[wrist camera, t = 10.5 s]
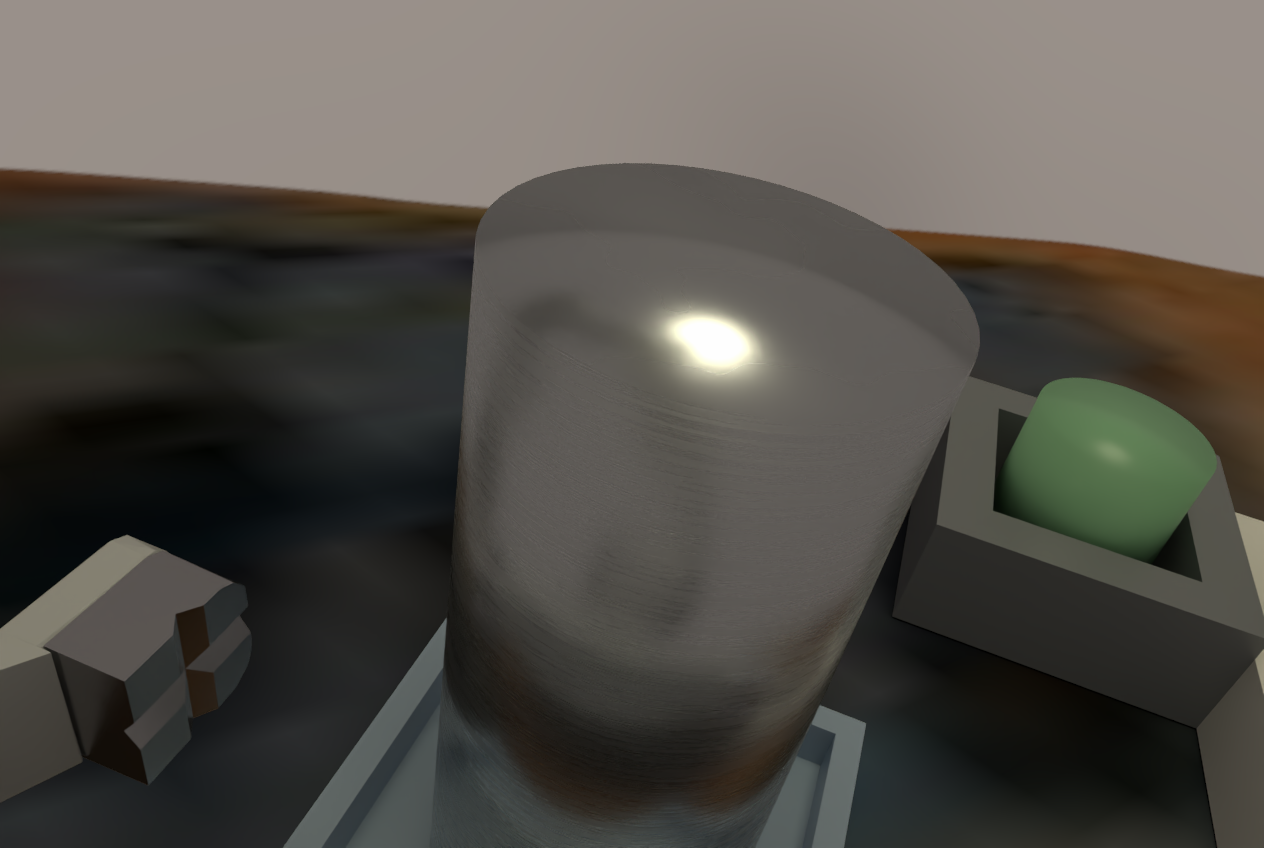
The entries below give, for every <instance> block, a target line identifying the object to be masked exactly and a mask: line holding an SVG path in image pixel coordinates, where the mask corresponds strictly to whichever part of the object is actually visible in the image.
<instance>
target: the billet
mask: <svg viewBox="0 0 1264 848" xmlns="http://www.w3.org/2000/svg"><path fill="white" fill-rule="evenodd" d="M979 346H980V336H979V327H978V324H977V320H976V317H975V314H974V312H973V310H972V308H971V306H970V304H969V302H968V300H967V299H966V297H965V296H964V294H963V293H962V292H961V290H960V289H959V288H958V286H957V285H956V284H955V283H954V281H953V280H952V279H951V278H950V277H949V276H948V275H947V274H946V273H945V272H944V271H943V270H942V269H941V268H940V267H939V266H938V265H936V264H935V263H934V262H933V261H932V260H930V259H929V258H928V257H927V256H926V255H924V254H923V253H922V252H921V251H919V250H918V249H916V248H915V247H913V246H912V245H910V244H909V243H908V242H906V241H905V240H903V239H902V238H900V237H898V236H897V235H895V234H893V233H892V232H890V231H888V230H887V229H885V228H883V227H882V226H880V225H878V224H876V223H874V222H872V221H870V220H868V219H866V218H864V217H862V216H860V215H858V214H856V213H854V212H851V211H849V210H847V209H845V208H842V207H840V206H838V205H835V204H833V203H831V202H828V201H825V200H823V199H820V198H817V197H815V196H812V195H809V194H806V193H803V192H800V191H797V190H794V189H791V188H787V187H785V186H781V185H777V184H774V183H770V182H766V181H762V180H759V179H755V178H750V177H746V176H741V175H736V174H732V173H726V172H721V171H715V170H709V169H703V168H695V167H686V166H677V165H664V164H636V163H635V164H634V163H633V164H632V163H631V164H630V163H623V164H605V165H594V166H586V167H577V168H572V169H567V170H562V171H558V172H554V173H550V174H547V175H544V176H541V177H537V178H534V179H532V180H530V181H528V182H525V183H523V184H521V185H518V186H516V187H515V188H513V189H512V190H510V191H508V192H507V193H505V194H504V195H502V196H501V197H500V198H499V199H498V200H496V201H495V202H494V203H493V204H492V205H491V206H490V207H489V208H488V210H487V211H486V213H485V214H484V216H483V217H482V219H481V221H480V224H479V227H478V230H477V233H476V241H475V254H474V267H473V280H472V293H471V306H470V320H469V333H468V346H467V359H466V372H465V386H464V399H463V412H462V425H461V438H460V451H459V465H458V478H457V491H456V504H455V517H454V530H453V544H452V557H451V570H450V583H449V596H448V609H447V623H446V636H445V649H444V662H443V675H442V689H441V702H440V715H439V728H438V741H437V754H436V768H435V781H434V794H433V807H432V820H431V833H430V847H429V848H755V847H756V845H757V843H758V840H759V838H760V836H761V834H762V832H763V829H764V827H765V825H766V823H767V821H768V818H769V816H770V814H771V812H772V810H773V807H774V805H775V803H776V801H777V799H778V796H779V794H780V792H781V790H782V787H783V785H784V783H785V781H786V779H787V776H788V774H789V772H790V770H791V768H792V765H793V763H794V761H795V759H796V757H797V754H798V752H799V750H800V748H801V746H802V743H803V741H804V739H805V737H806V734H807V732H808V730H809V728H810V726H811V723H812V721H813V719H814V717H815V715H816V712H817V710H818V708H819V706H820V704H821V701H822V699H823V697H824V695H825V693H826V690H827V688H828V686H829V684H830V681H831V679H832V677H833V675H834V673H835V670H836V668H837V666H838V664H839V662H840V659H841V657H842V655H843V653H844V651H845V648H846V646H847V644H848V642H849V640H850V637H851V635H852V633H853V631H854V629H855V626H856V624H857V622H858V620H859V617H860V615H861V613H862V611H863V609H864V606H865V604H866V602H867V600H868V598H869V595H870V593H871V591H872V589H873V587H874V584H875V582H876V580H877V578H878V576H879V573H880V571H881V569H882V567H883V564H884V562H885V560H886V558H887V556H888V553H889V551H890V549H891V547H892V545H893V542H894V540H895V538H896V536H897V534H898V531H899V529H900V527H901V525H902V523H903V520H904V518H905V516H906V514H907V511H908V509H909V507H910V505H911V503H912V500H913V498H914V496H915V494H916V492H917V489H918V487H919V485H920V483H921V481H922V478H923V476H924V474H925V472H926V470H927V467H928V465H929V463H930V461H931V458H932V456H933V454H934V452H935V450H936V447H937V445H938V443H939V441H940V439H941V436H942V434H943V432H944V430H945V428H946V425H947V423H948V421H949V419H950V417H951V414H952V412H953V410H954V408H955V406H956V403H957V401H958V399H959V397H960V394H961V392H962V390H963V388H964V386H965V383H966V381H967V379H968V377H969V375H970V372H971V370H972V368H973V366H974V364H975V361H976V358H977V354H978V350H979Z"/></svg>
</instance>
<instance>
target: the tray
mask: <svg viewBox="0 0 1264 848" xmlns="http://www.w3.org/2000/svg"><path fill="white" fill-rule="evenodd" d="M446 623H447V618H446V619H445V621H444V622H443V624H442V625H441V626H440V628H439V629H438V631H437V632H436V633H435V635H434V636H433V638H432V639H431V640H430V642H429V643H428V645H427V646H426V647H425V649H424V650H423V652H422V653H421V654H420V656H419V657H418V659H417V660H416V661H415V663H414V664H413V666H412V667H411V668H410V670H409V671H408V673H407V674H406V676H405V677H404V678H403V680H402V681H401V683H400V684H399V685H398V687H397V688H396V690H395V691H394V692H393V694H392V695H391V697H390V698H389V699H388V701H387V702H386V704H385V705H384V706H383V708H382V709H381V711H380V712H379V713H378V715H377V716H376V718H375V719H374V720H373V722H372V723H371V725H370V726H369V727H368V729H367V730H366V732H365V733H364V734H363V736H362V737H361V739H360V740H359V741H358V743H357V744H356V746H355V747H354V749H353V750H352V751H351V753H350V754H349V756H348V757H347V758H346V760H345V761H344V763H343V764H342V765H341V767H340V768H339V770H338V771H337V772H336V774H335V775H334V777H333V778H332V779H331V781H330V782H329V784H328V785H327V786H326V788H325V789H324V791H323V792H322V793H321V795H320V796H319V798H318V799H317V800H316V802H315V803H314V805H313V806H312V807H311V809H310V810H309V812H308V813H307V814H306V816H305V817H304V819H303V820H302V822H301V823H300V824H299V826H298V827H297V829H296V830H295V831H294V833H293V834H292V836H291V837H290V838H289V840H288V841H287V843H286V844H285V845H284V847H283V848H429V847H430V833H431V820H432V807H433V794H434V781H435V768H436V754H437V741H438V728H439V715H440V702H441V689H442V675H443V662H444V649H445V636H446ZM865 727H866V723H864V722H861V721H859V720H856V719H854V718H851V717H849V716H846V715H843V714H841V713H838V712H836V711H833V710H831V709H828V708H826V707H823V706H819V708H818V710H817V712H816V715H815V717H814V719H813V721H812V723H811V726H810V728H809V730H808V732H807V734H806V737H805V739H804V741H803V743H802V746H801V748H800V750H799V752H798V754H797V757H796V759H795V761H794V763H793V765H792V768H791V770H790V772H789V774H788V776H787V779H786V781H785V783H784V785H783V787H782V790H781V792H780V794H779V796H778V799H777V801H776V803H775V805H774V807H773V810H772V812H771V814H770V816H769V818H768V821H767V823H766V825H765V827H764V829H763V832H762V834H761V836H760V838H759V840H758V843H757V845H756V847H755V848H844V844H845V838H846V833H847V827H848V821H849V816H850V810H851V805H852V799H853V794H854V788H855V783H856V777H857V771H858V766H859V760H860V755H861V749H862V744H863V738H864V732H865Z"/></svg>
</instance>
